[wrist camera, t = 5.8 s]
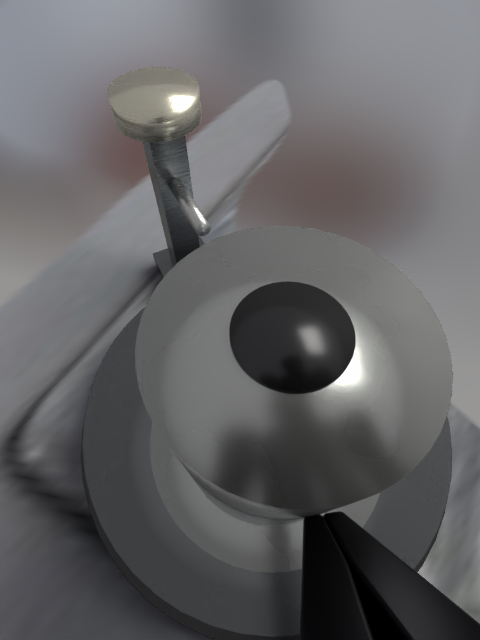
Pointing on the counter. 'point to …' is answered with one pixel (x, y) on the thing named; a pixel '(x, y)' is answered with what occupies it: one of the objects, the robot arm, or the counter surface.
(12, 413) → the counter surface
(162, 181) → the stand
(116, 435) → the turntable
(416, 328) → the cover
